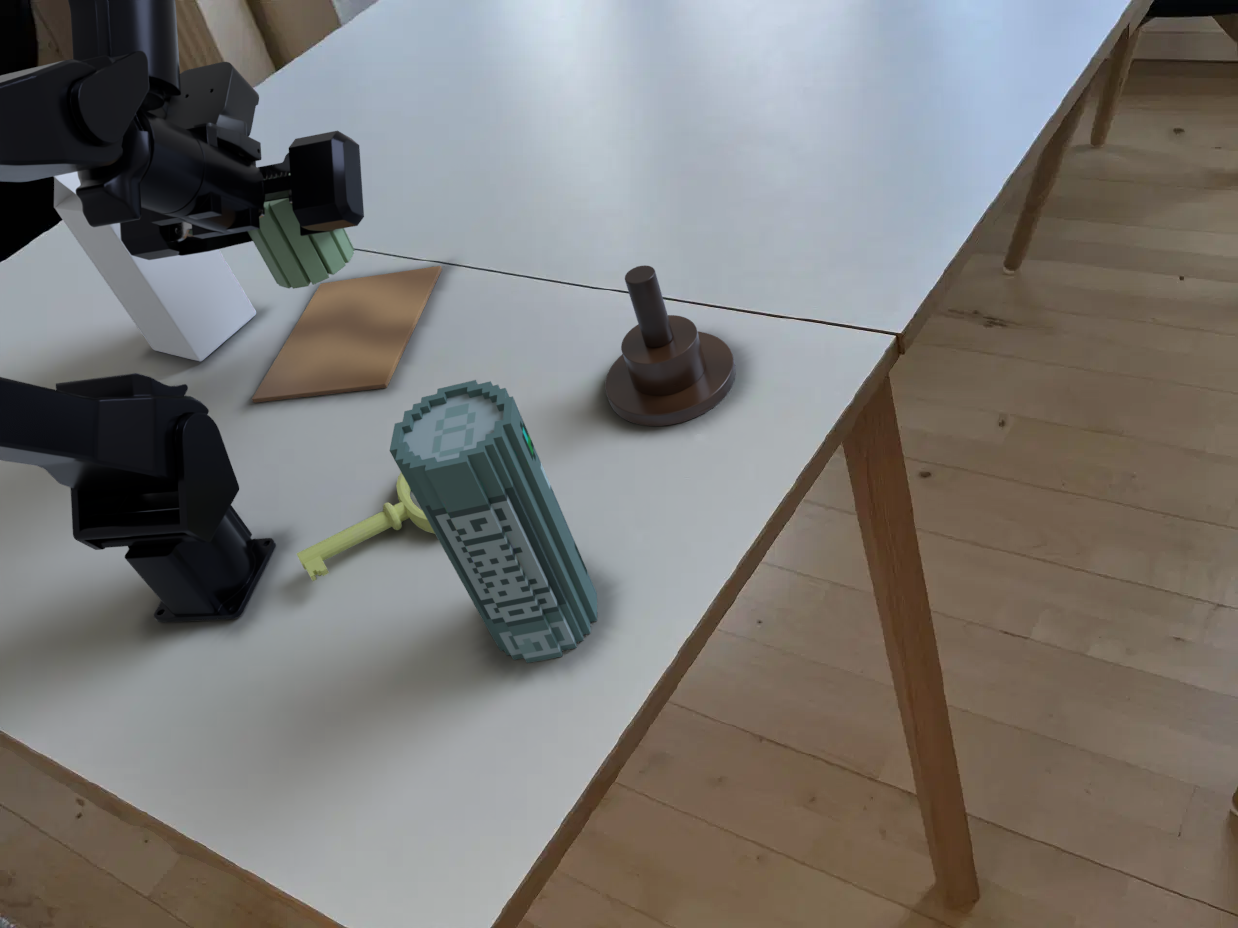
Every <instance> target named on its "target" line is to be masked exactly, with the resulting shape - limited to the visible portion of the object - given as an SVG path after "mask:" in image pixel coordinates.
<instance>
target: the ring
mask: <svg viewBox="0 0 1238 928" xmlns="http://www.w3.org/2000/svg"><path fill="white" fill-rule="evenodd" d="M289 175H290V173H289ZM269 179H270V178H269ZM264 207H265V215H264V217H262V218H259V220H260V229H257V230H251V231H248V233H249V235H250V237H251V238H252V240H253V241H252V242H253V244H254V245H255V247H256V249H257V252H258V253H259V254H260V257H261V258H262V260H263V262H264V263H265V265H266V267H267V269H268V270H269V272H270V274H271V275H272V277H273V279H274V281H275V283H276V284H277V285H278V286H279V287H283V288H284V289H285V288H286V289H291V288H292V289H293V290H294V289H301V288H307V287H309V286H310V284H311V285H316V284H318V283H321V282H323V281H325V280H328V279H329V278H330V275H332V276H334V275H336V274H337V273H339V272H340V271H341V270H342V269H344V268H345V267H346V264H348V263H350V261H351V259H352V258H353V256H354V254H355V253H354V252H355V247H354V245H353V243H352V241H351V239H350V237H349V234H348V233H347V230H346V228H341V229H335V230H334V231H330V232H324V233H318V234H312V235H306V236H301V235H300V224H299V222H298V220H297V218H296V216H295V214H294V212H293V210H292V204H291V203H289V198H286V199H280V200H275V201H269V202H264Z"/></svg>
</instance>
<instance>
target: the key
mask: <svg viewBox="0 0 1238 928" xmlns="http://www.w3.org/2000/svg"><path fill="white" fill-rule="evenodd" d="M395 485H396V486H395V487H396V493H397V499H398V502H397V503H395V504H394V505H392V503H390V502H388V501H387V502H384V503H383V505H382V511H380V512H378V513H377V512H376V514H374V515H371V516H370V517H369V516H368V517H367V518H365V519H364V520H361V521H359V522H357V523H355V524H353V525H351V526H349V527H347V528H345V529H343V530H342V531H339V532H337V533H334V534H333V535H331V536H329V537H327V538H324V539H323V540H321V541H319V542H317V543H315V544H313V545H310V546H308V547H307V548H305V549H303V550H301V551H298V552H296V556H297V558H298V560H299V561H300V563H301V565H302V568H303V569H304V570H305V571H307V573H308V575H309V577H310V579H311V581H312V582H315V581H316V580H317V577H316V576H319V577H321V576H322V577H325V576H327V575H328V574H330V571H329V569H328V568H327V566H326V564H325V561H326V560H328V559H331V558H332V557H334V556H336V555H338V554H340V553H343V552H345V551H346V550H348V549H350V548H352V547H354V546H357V545H359V544H361V543H362V542H364V541H366V540H368V539H370V538H372V537H375V536H377V535H378V534H380V533H383V532H384V531H386V530H389V529H390V528H392V529H393V530H395V531H400V530H401V529H402V522H404V521H407V520H409V519H410V520H411V522H412V523H413V524H414V525H415V526H416V527H418V528H419V529H421V530H423V531H425V532H426V533H431V534H434V535H436V534H435V532H434V531H433V529H432V527H431V525H430V523H429V522H428V520H427V518H426V516H425V514H424V512H423V511H422V509H421V508H419V507H418V506H417V505H416V504H415V503H414V502H413V500H412V497H411V492H412V491H411V489H410V487H409V485H408V483H407V482H406V480H405V478H404V476H403V474H402V473H401V472H400V473H399V475H398V476H397V480H396V484H395Z"/></svg>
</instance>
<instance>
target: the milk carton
mask: <svg viewBox="0 0 1238 928" xmlns="http://www.w3.org/2000/svg"><path fill="white" fill-rule="evenodd" d="M52 177H53V182H54V183H53V185H54V186H53V189H54V190H53V208H54V209H55V211H56V212H57V214H58V215H59V217H60V218H61V220H62V221H63V223H64V224H65V226H66V227H67V229H69V231H70V232H71V234H72V236H73V237H74V238H75V240H76V241H77V243H78V244H79V246H80V247H81V248H82V250H83V251H84V253H85V254H86V256H88V259H89V260H90V261H91V263H92V264H93V265H94V267H95V268H96V270H97V272H98V273H99V274H100V276H101V277H102V278H103V280H104V281H105V283H106V284H107V286H108V287H109V288H110V290H111V292H112V293H113V295H114V296H115V297H116V299H117V300H118V302H119V303H120V304H121V306H122V307H123V309H124V310H125V312H126V313H127V314H128V316H129V317H130V319H131V320H132V322H133V323H134V325H135V326H136V328H137V329H138V331H140V333H141V335H142V336H143V337H144V339H145V340H146V343H148V345H149V346H150V348H151V349H152V350H153V351H155V352H159V353H160V352H161V353H164V354H168V355H172V356H177V357H180V358H183V359H188V360H192V361H196V362H203V361H204V360H205V359H206V358H208V356H210V355H211V354H212V353H214V351H215V350H217V349H218V348H219V347H220V346H222V344H224V343H225V342H226V341H227V340H228V339H230V338H231V337H232V336H234V334H235V333H237V331H239V330H240V329H241V328H242V327H243V326H245V325H246V324H247V323H248V322H249V321H250V320H251V319H252V318H254V317H255V316H256V315H257V311H256V309H255V306H253V304H252V302H251V300H250V299H249V297H248V296H247V294H246V292H245V291H244V288H243V287H242V285H241V284H240V282H239V280H238V279H237V277H236V276H235V274H234V272H233V270H232V269H231V267H230V265H229V264H228V262H227V261H226V258H225V256H224V255H223V254H222V252H221V249H218V250H213V251H209V252H203V253H197V254H191V255H185V256H180V255H178V256H172V257H166V258H160V259H153V260H147V259H143V258H139V257H136V256H132V255H131V254H130V253H129V252H128V250H127V249H126V247H125V246H124V244H123V243H122V241H121V238H120V223H116V224H111V225H105V226H99V227H92V226H90V225H89V223H88V222H87V220H86V218H85V216H84V214H83V211H82V202H81V200H80V198H79V197H78V196H77V195H76V189H77V188H78V187H79V186H80V181H79V178H78V173H77V172H73V173H68V174H63V175H57V176H52Z"/></svg>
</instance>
